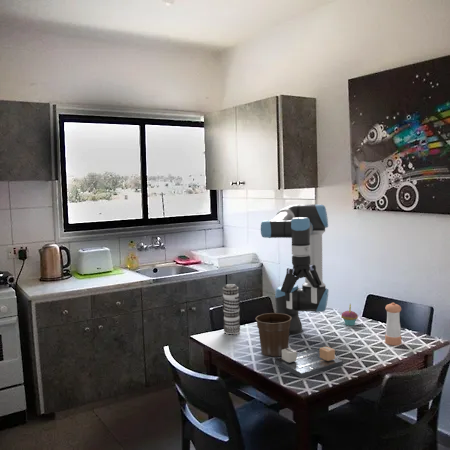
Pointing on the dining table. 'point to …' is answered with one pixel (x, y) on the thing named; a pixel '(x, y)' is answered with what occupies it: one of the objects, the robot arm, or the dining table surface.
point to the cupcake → (349, 317)
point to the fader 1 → (289, 355)
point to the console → (308, 363)
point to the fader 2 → (327, 353)
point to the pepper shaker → (393, 325)
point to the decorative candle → (231, 309)
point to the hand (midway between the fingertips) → (302, 305)
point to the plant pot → (273, 333)
